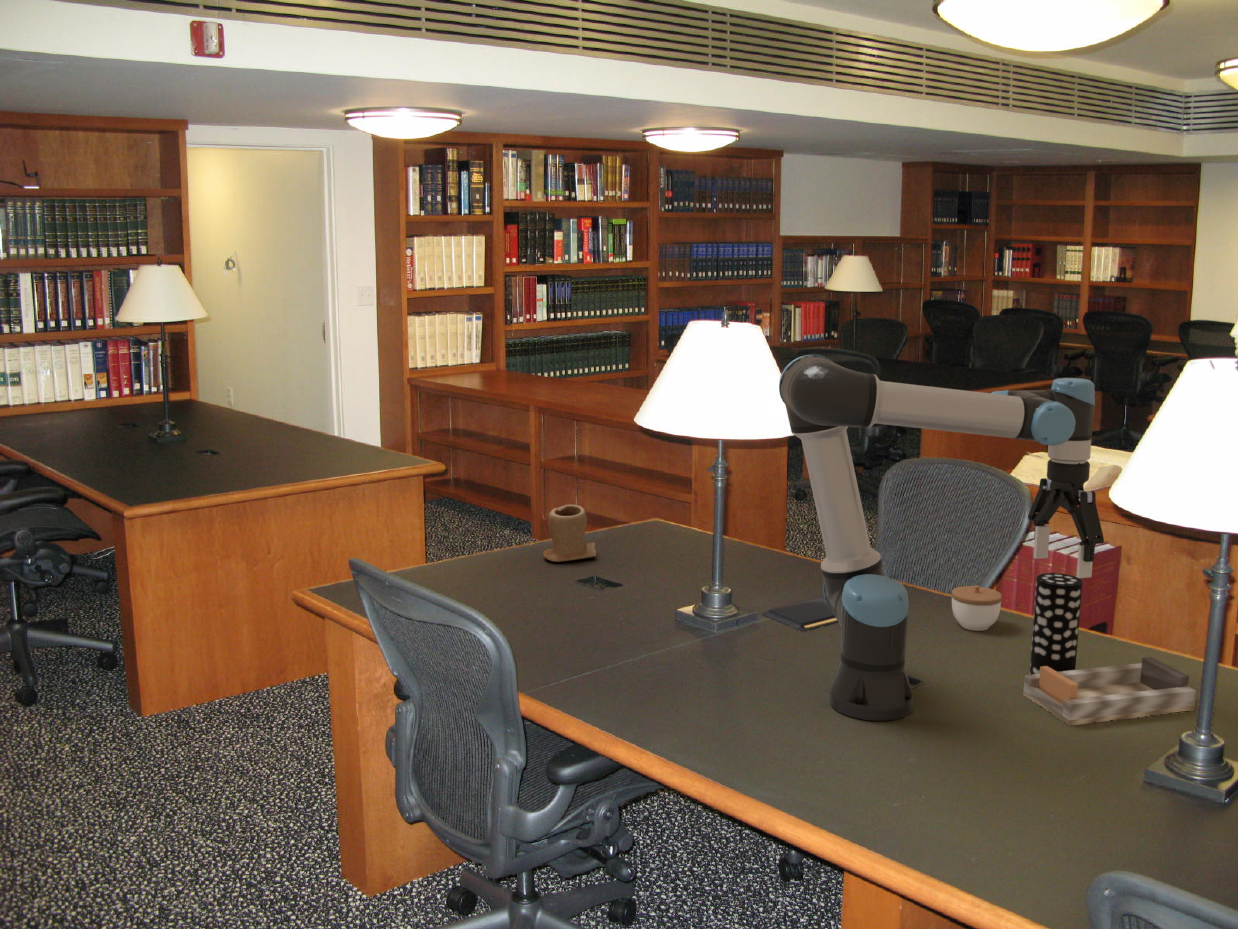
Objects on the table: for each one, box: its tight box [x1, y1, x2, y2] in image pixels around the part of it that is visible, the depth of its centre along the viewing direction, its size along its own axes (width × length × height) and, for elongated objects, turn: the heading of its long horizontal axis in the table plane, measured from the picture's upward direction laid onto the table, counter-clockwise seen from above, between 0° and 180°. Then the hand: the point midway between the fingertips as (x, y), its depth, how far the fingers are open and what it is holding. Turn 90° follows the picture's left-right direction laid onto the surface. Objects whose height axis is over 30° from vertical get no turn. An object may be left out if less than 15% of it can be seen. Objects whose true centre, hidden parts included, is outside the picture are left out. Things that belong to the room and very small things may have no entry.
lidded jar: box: [951, 584, 1003, 632], centre depth 247 cm, size 11×11×9 cm
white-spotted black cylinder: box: [1029, 572, 1083, 675], centre depth 217 cm, size 8×8×20 cm
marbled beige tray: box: [1022, 656, 1197, 726], centre depth 206 cm, size 26×14×6 cm, turn 104°
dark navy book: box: [761, 597, 839, 632], centre depth 256 cm, size 20×2×15 cm
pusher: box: [1039, 666, 1078, 704], centre depth 203 cm, size 2×9×5 cm, turn 14°
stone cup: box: [543, 504, 597, 563], centre depth 301 cm, size 15×12×15 cm
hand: (1061, 567), depth 215 cm, fingers open, 13 cm apart
